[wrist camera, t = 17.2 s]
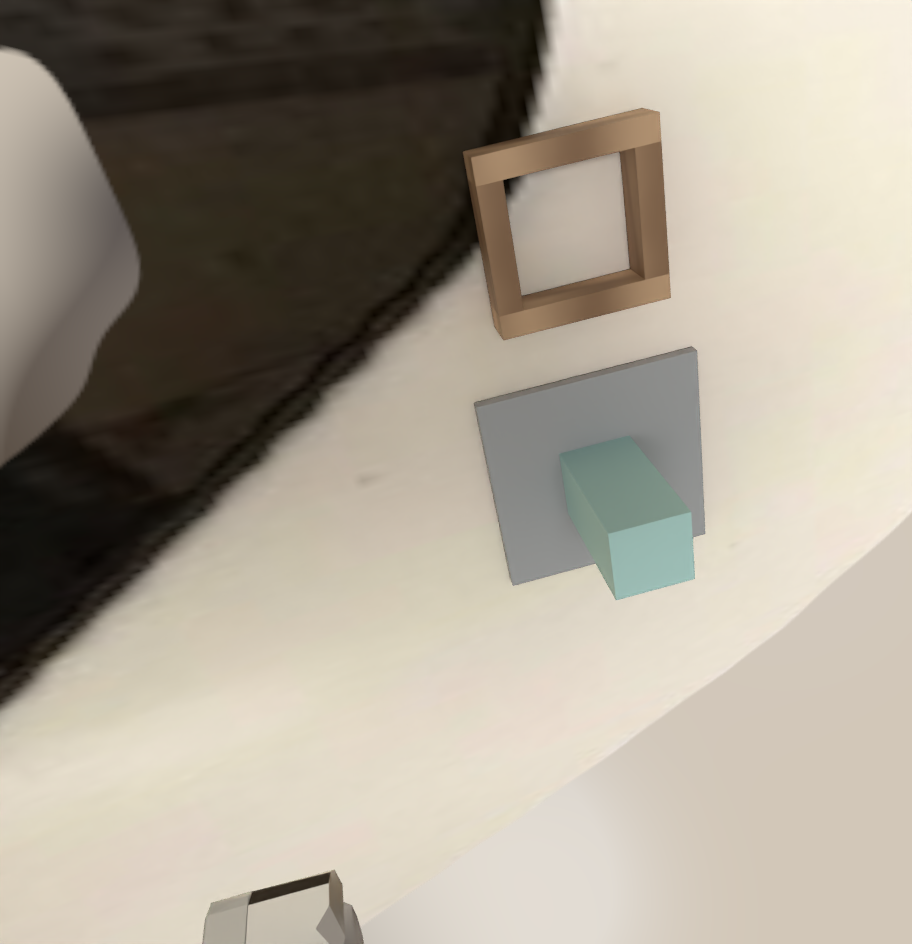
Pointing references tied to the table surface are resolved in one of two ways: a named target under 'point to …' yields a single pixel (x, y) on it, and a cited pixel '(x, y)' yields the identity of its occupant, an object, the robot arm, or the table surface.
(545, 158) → the pocket
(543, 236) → the table surface
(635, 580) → the teal block
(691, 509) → the mat
